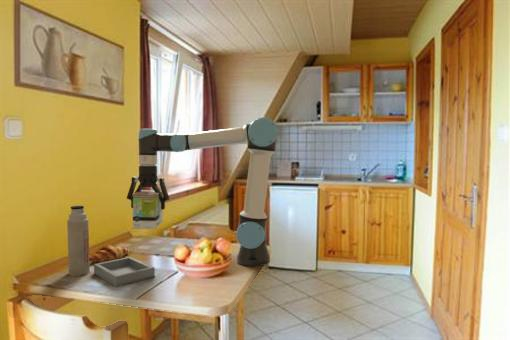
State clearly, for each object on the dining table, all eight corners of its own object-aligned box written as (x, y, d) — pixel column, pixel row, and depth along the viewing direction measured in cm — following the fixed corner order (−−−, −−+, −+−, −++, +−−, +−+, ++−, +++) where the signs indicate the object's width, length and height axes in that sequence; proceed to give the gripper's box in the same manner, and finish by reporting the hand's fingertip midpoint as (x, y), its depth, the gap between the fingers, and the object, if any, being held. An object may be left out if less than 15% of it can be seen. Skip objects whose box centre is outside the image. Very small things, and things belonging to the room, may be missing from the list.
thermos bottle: (93, 270, 168) (92, 205, 166) (81, 276, 160) (79, 208, 158) (76, 269, 169) (75, 204, 168) (64, 275, 162) (62, 207, 160)
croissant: (125, 259, 195) (120, 244, 197) (137, 253, 190) (132, 237, 192) (86, 270, 178) (81, 253, 179) (98, 263, 173) (92, 246, 174)
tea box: (156, 229, 163) (156, 193, 162) (132, 229, 162) (131, 193, 161) (163, 222, 178) (163, 189, 177) (140, 222, 177) (140, 189, 176)
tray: (154, 277, 159) (154, 267, 159) (116, 287, 148) (116, 276, 148) (130, 265, 175) (130, 256, 174) (94, 273, 164) (93, 264, 163)
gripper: (117, 164, 166) (118, 216, 168) (171, 166, 163) (170, 219, 164) (126, 164, 174) (126, 213, 175) (177, 165, 170) (177, 216, 172)
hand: (148, 216), depth 170 cm, fingers closed on tea box, 11 cm apart
